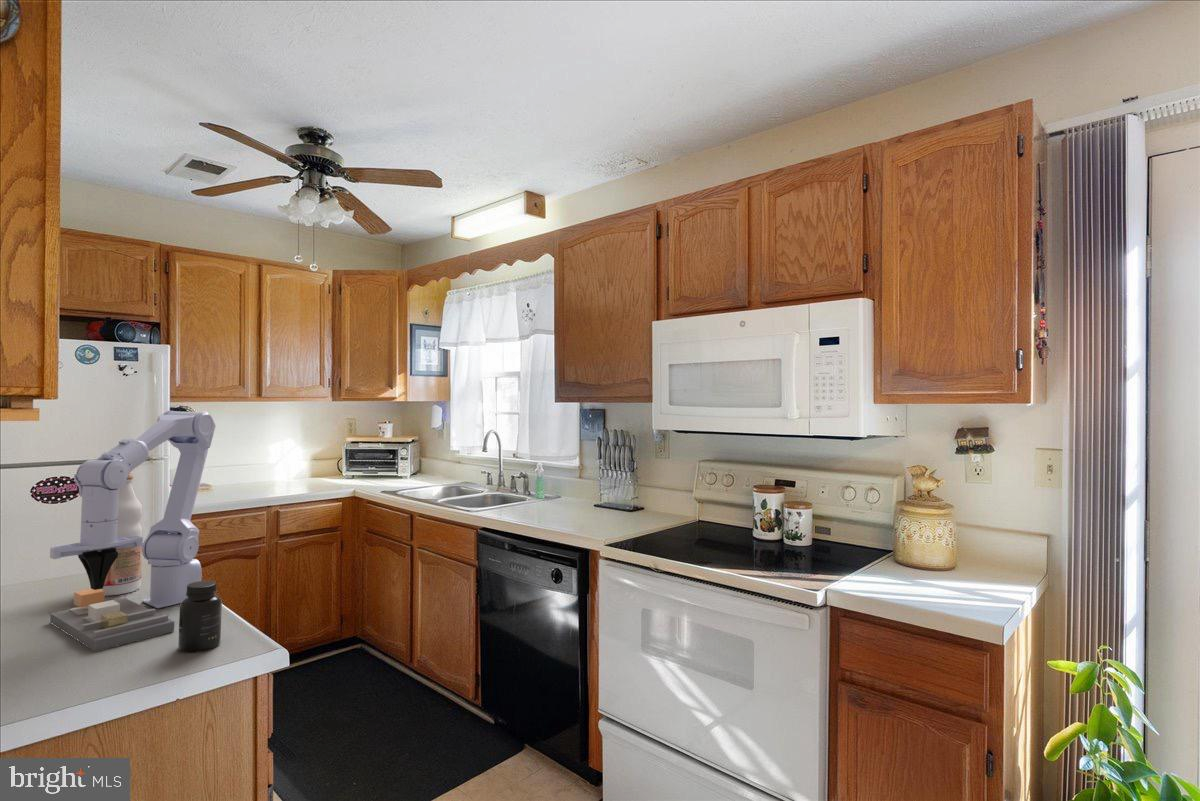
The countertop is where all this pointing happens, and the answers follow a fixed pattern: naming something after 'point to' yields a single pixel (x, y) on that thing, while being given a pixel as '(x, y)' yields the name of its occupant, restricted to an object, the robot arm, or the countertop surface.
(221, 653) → the countertop surface
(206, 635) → the supplement bottle
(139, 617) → the grey ridged tray
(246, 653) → the countertop surface
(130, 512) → the fruit juice
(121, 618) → the wood grain block
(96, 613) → the off-white button
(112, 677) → the countertop surface
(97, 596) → the orange button
